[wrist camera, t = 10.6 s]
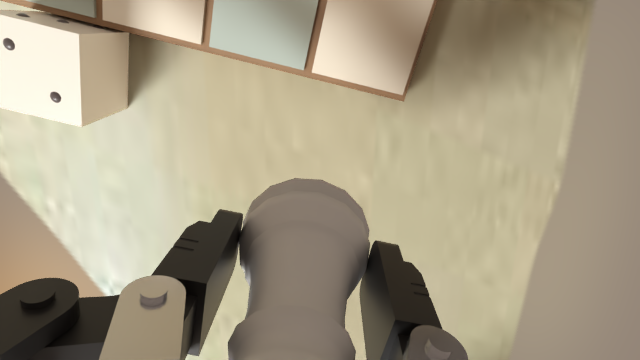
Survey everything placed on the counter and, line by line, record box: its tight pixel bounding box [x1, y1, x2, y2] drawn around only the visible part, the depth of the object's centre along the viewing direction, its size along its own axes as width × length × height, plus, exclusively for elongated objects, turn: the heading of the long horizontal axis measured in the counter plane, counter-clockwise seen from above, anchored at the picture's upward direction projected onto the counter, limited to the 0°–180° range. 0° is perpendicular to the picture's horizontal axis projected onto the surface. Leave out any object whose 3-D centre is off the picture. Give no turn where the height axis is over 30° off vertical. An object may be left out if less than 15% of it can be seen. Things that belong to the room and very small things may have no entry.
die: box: [0, 10, 129, 127], centre depth 17 cm, size 4×4×4 cm
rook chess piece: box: [228, 178, 370, 360], centre depth 9 cm, size 4×4×8 cm
